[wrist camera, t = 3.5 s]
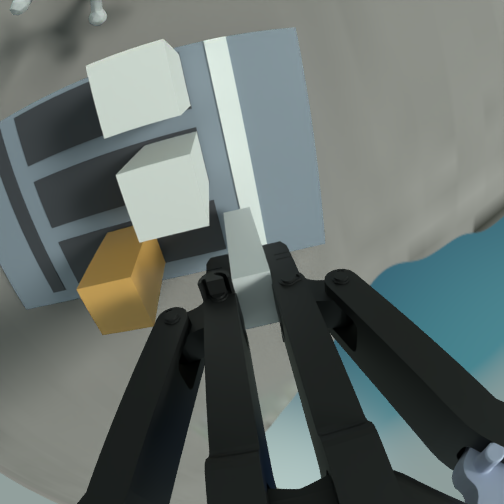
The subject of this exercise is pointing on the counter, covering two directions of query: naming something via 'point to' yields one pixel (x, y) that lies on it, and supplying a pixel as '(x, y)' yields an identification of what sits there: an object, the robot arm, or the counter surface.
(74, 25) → the counter surface
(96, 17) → the molecular model
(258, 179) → the breaker panel
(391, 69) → the counter surface
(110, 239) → the toggle
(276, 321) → the robot arm
